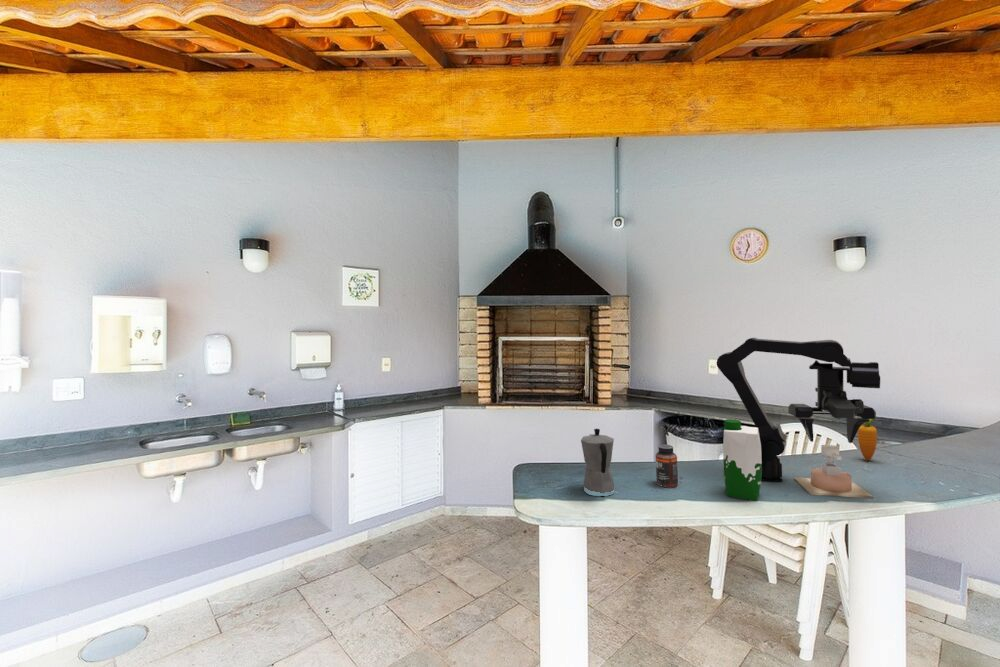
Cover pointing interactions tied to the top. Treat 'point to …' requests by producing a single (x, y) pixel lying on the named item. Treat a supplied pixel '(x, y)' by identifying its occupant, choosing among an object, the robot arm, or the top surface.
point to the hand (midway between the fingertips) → (830, 442)
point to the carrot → (867, 439)
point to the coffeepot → (598, 462)
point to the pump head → (831, 453)
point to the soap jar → (831, 479)
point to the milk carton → (742, 460)
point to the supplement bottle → (666, 466)
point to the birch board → (813, 490)
